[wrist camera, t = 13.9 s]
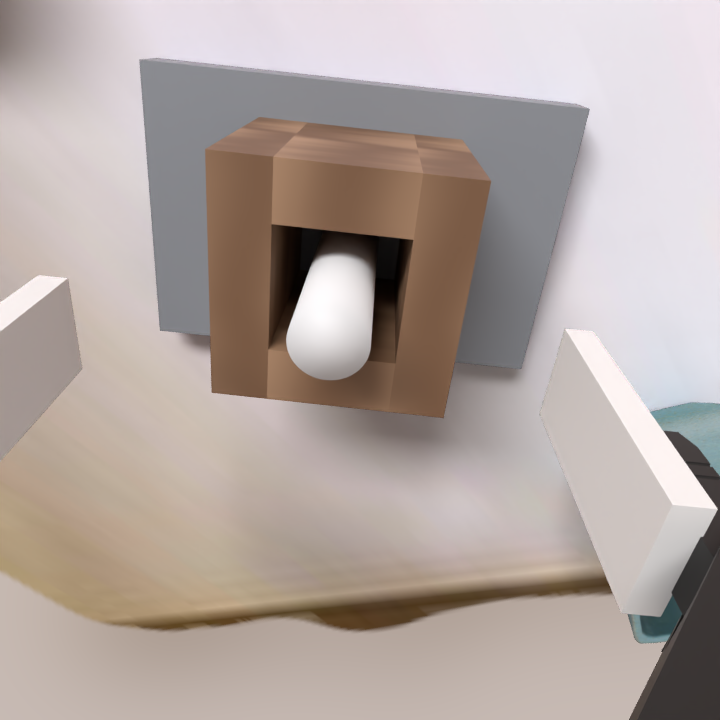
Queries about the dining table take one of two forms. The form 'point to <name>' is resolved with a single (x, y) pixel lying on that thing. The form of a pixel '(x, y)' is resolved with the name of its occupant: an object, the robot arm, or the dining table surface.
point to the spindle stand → (350, 250)
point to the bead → (352, 215)
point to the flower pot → (716, 441)
